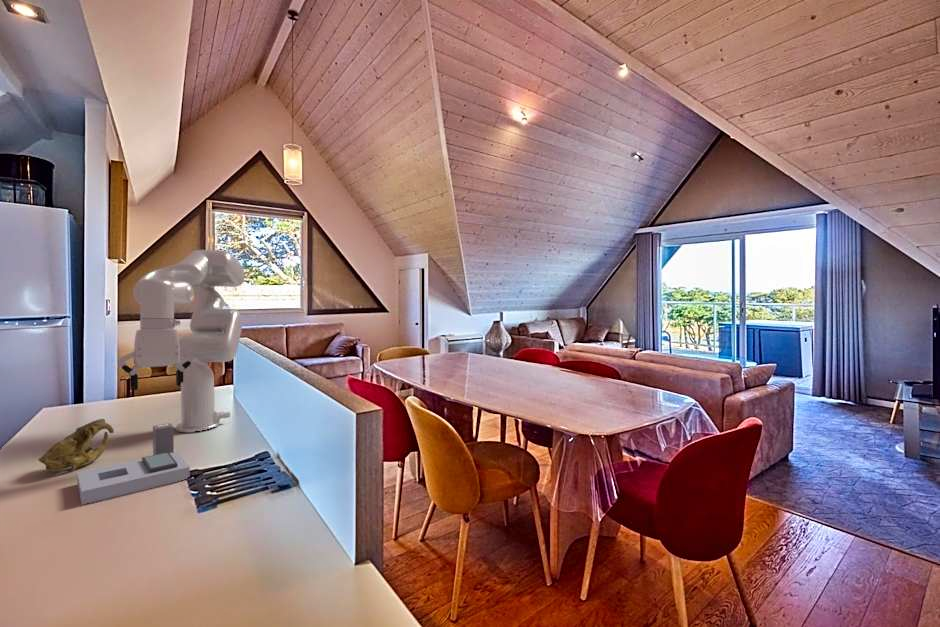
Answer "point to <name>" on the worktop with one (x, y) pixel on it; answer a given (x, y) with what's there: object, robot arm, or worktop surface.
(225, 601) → the worktop surface
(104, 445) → the animal skull
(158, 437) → the block
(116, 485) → the dock board
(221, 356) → the robot arm
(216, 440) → the worktop surface
